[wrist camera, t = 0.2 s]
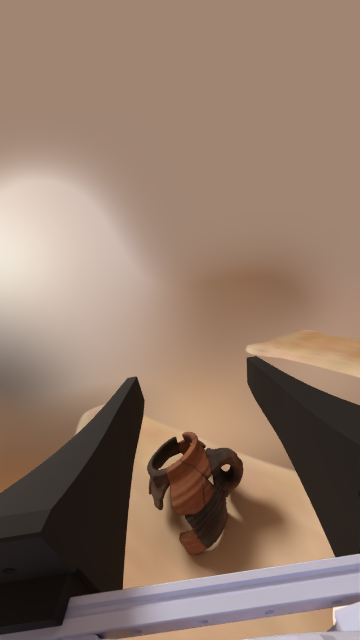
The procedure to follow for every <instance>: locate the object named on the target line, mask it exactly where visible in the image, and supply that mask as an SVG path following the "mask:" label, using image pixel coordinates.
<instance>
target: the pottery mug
mask: <svg viewBox="0 0 360 640" xmlns="http://www.w3.org/2000/svg"><path fill="white" fill-rule="evenodd" d="M182 436H183V438H184V440H182V441H180V442H179V443H178V442H177V439H176V437H173V438H171V439H170V440H168V441H167V442H165V443H164V444H163V445H162V446H161V447H160V448H159V449H158V450H157V452H155V454H154V455H153V456H152V458H151V459H150V461H149V463H148V466H147V470H148V473H149V475H150V481H149V494H150V495H151V494H152V496H153V498H154V505H155V507H157V508H158V509H159V510H162V509H163V498H164V495H165V492H166V490H167V488H168V487H169V485H170V492H171V501H172V508H173V509H174V510H175V512H176V513H177V514H178V515H185V518H186V520H187V521H188V523H189V524H190V525H191V527H192V528H193V529H192V530H190V531H188V532H183V533H180V536H179V539H180V542H181V544H182V545H183V546H184V547H185V549H186V550H187V552H188V553H189V554H198V553H201V552H203V551H205V550H206V549H207V548H209V547H211V546H212V545H213V544H214V543H215V542H216V541H217V539H218V538H219V536H220V535H221V534H222V532H223V530H224V527H225V523H226V520H227V514H228V513H227V508H226V497H228V495H229V493H230V492H231V491H232V490H233V489H235V488H236V487H237V486H238V484H239V483H240V481H241V478H242V475H243V463H242V461H241V459H239V458H238V456H237V454H236V453H235V452H234V451H233V450H231V449H229V448H218V449H210V448H207V449H206V451H205V449H204V448H205V447H206V446H205V444H204V443H202V442H201V441H199V440H198V438H197V436H196V434H195V433H192V432H185V433H183V434H182ZM190 443H191V444H190ZM179 453H182V454H183V456H182V457H181V458H180V460H178V461H177V462H175V463H174V464H172V465H171V466H169V467H167V468H165V469H161V470H158V469H159V468H161V467H162V466H163V464H164V463H165V462H166V461H167V460H168V459H169V458H170V457H172V456H174V455H177V454H179ZM225 464H229V465H230V469H229V470H228V471H226V472H225V471H223V470H222V469H221V467H222V466H223V465H225ZM211 473H212V475H213V483H214V485H213V484H212V483H211V482H210V481H209V480H208V478H209V477H210V476H211Z"/></svg>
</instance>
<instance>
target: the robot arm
mask: <svg viewBox="0 0 360 640" xmlns="http://www.w3.org/2000/svg"><path fill="white" fill-rule="evenodd" d="M247 380H248V381H247V382H248V385H249V387H250V390H251V392H252V394H253V396H254V398H255V400H256V401H257V403H258V405H259V406H260V408H261V409H262V411H263V413H264V414H265V416H266V417H267V419H268V421H269V422H270V424H271V425H272V427H273V429H274V430H275V432H276V433H277V435H278V437H279V439H280V440H281V442H282V444H283V446H284V448H285V450H286V452H287V454H288V456H289V458H290V460H291V461H292V464H293V466H294V468H295V470H296V472H297V474H298V476H299V478H300V480H301V482H302V484H303V486H304V489H305V491H306V493H307V495H308V497H309V499H310V501H311V504H312V506H313V508H314V510H315V512H316V514H317V517H318V519H319V521H320V523H321V525H322V528H323V530H324V532H325V534H326V537H327V539H328V541H329V543H330V546H331V548H332V550H333V553H334V555H335V558H328V559H322V560H315V561H309V562H302V563H295V564H289V565H282V566H275V567H269V568H262V569H255V570H249V571H242V572H236V573H229V574H222V575H216V576H209V577H202V578H196V579H189V580H183V581H176V582H169V583H163V584H156V585H149V586H143V587H136V588H129V589H123V573H124V558H125V544H126V532H127V520H128V509H129V499H130V490H131V481H132V473H133V465H134V459H135V453H136V449H137V444H138V439H139V434H140V430H141V425H142V420H143V411H144V397H143V394H142V391H141V388H140V385H139V382H138V379H137V377H131V378H128V379H127V380H126V381H125V382H124V383H123V384H122V385H121V387H120V388H119V389H118V390H117V392H116V393H115V394H114V395H113V396H112V398H111V399H110V400H109V401H108V402H107V404H106V405H105V406H104V407H103V408H102V409H101V410H100V411H99V412H98V413H97V415H96V416H95V417H94V418H93V419H92V420H91V421H90V422H89V423H88V424H87V425H86V426H85V427H84V428H83V429H82V430H81V431H80V432H79V433H77V434H76V435H75V436H74V437H73V438H72V439H71V440H70V441H68V442H67V443H66V444H65V445H64V446H63V447H61V448H60V449H59V450H58V451H57V452H56V453H54V454H53V455H52V456H51V457H49V458H48V459H47V460H46V461H44V462H43V463H42V464H40V465H39V466H38V467H36V468H35V469H34V470H32V471H31V472H30V473H28V474H27V475H26V476H25V477H23V478H22V479H20V480H19V481H17V482H16V483H14V484H13V485H11V486H10V487H9V488H7V489H6V490H4V491H3V492H1V493H0V640H118V639H121V638H128V637H135V636H142V635H149V634H155V633H162V632H169V631H176V630H183V629H190V628H196V627H203V626H210V625H217V624H224V623H231V622H237V621H244V620H251V619H258V618H265V617H272V616H278V615H285V614H292V613H299V612H306V611H313V610H320V609H326V608H333V607H340V606H346V607H343V608H340V609H338V610H335V619H336V623H335V625H334V626H332V627H331V628H330V629H329V630H328V631H327V632H312V633H297V634H284V635H274V636H265V637H256V638H249V639H242V640H360V405H357V404H354V403H351V402H349V401H346V400H343V399H340V398H338V397H335V396H333V395H330V394H328V393H326V392H323V391H321V390H319V389H316V388H314V387H312V386H310V385H307V384H305V383H304V382H302V381H299V380H298V379H295V378H294V377H292V376H290V375H288V374H286V373H284V372H282V371H281V370H279V369H277V368H275V367H274V366H272V365H270V364H269V363H267V362H265V361H263V360H262V359H260V358H258V357H257V356H255V357H249V358H247ZM347 605H349V606H347Z"/></svg>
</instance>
